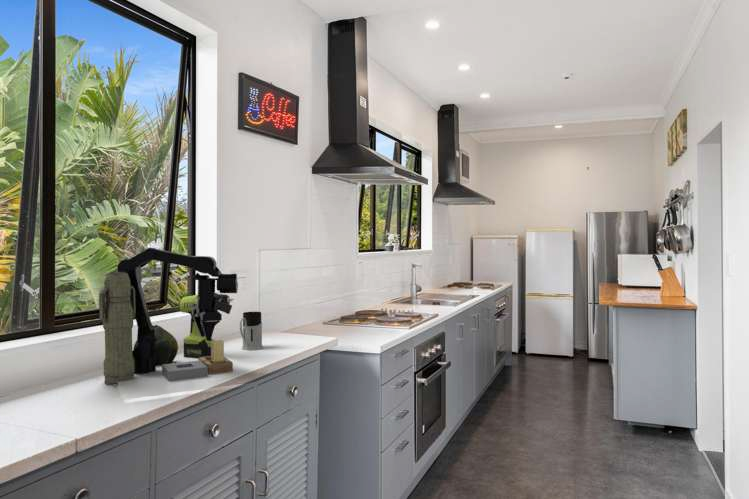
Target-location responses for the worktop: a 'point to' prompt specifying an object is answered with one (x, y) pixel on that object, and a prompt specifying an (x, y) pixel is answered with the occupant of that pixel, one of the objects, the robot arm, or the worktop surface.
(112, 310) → the olive carved statue
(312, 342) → the worktop surface
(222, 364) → the walnut rack
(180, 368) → the socket block
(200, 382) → the worktop surface
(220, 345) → the block
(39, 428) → the worktop surface
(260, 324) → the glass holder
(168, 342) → the squash
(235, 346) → the worktop surface
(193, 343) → the cordless drill
